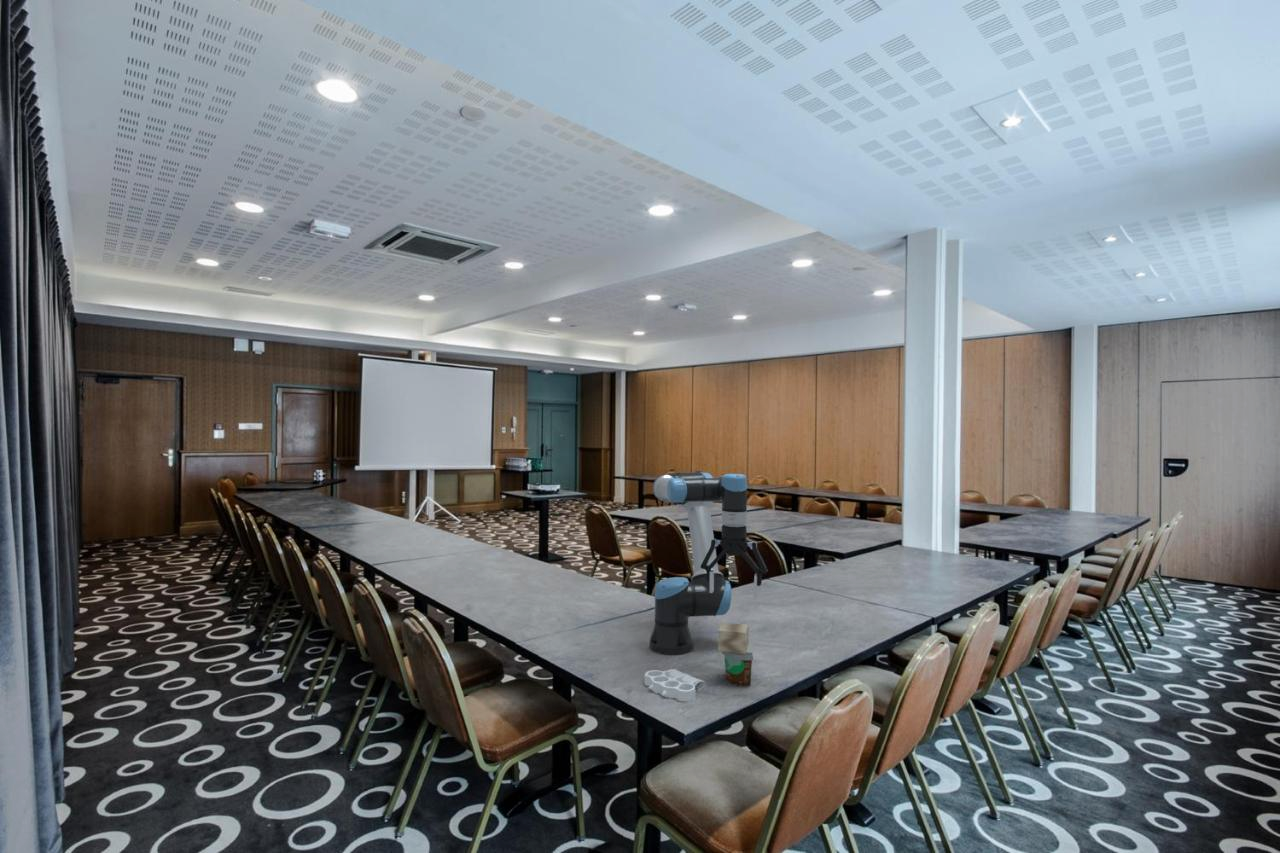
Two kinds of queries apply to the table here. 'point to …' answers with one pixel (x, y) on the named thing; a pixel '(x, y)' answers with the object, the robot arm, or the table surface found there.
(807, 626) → the table surface
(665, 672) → the white brass knuckles
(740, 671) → the food container
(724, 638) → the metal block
